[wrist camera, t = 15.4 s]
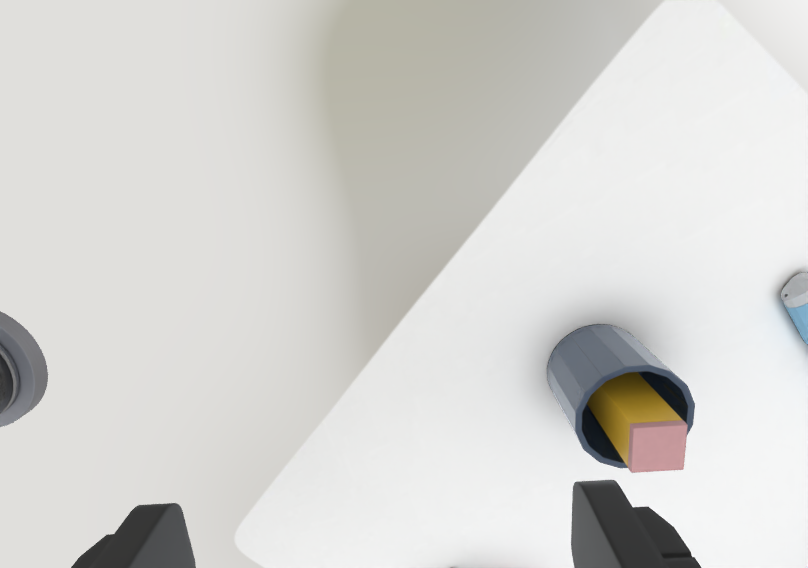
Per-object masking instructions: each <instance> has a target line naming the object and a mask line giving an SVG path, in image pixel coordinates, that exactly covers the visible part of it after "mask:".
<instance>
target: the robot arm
mask: <svg viewBox="0 0 808 568" xmlns="http://www.w3.org/2000/svg"><path fill="white" fill-rule="evenodd" d="M19 390H20V376H19V371H18V368H17V366H16V363H15V361H14V359H13V358H12V356H11V355H10V353H9V352H8V351H7V349H6V348H5V347H4V346H3V345H2V344H1V343H0V414H1V413H3V412H4V411H6V410H7V409H9V408H10V407H11V406H12V405H13V403H14V402H15V401H16V399H17V397H18V394H19ZM571 547H572V556H573V562H574V566H575V568H701V566H700V565H699V563H698V562H697V560H696V559H695V558H694V557H692V556H691V552H690V550H689V549H688V547H687V546H686V544H685V543H684V542H683V540H682V539H681V537H680V536H679V534H678V533H677V531H676V530H675V528H674V527H673V526H672V525H670V524H669V523H668V522H667V521H665V520H664V519H663V518H662V517H660V516H659V515H658V514H657V513H655V512H654V511H653V510H652V509H650V508H649V507H634V508H633V507H632V506H631V504H630V502H629V501H628V499H627V498H626V496H625V494H624V493H623V491H622V489H621V488H620V486H619V485H618V483H617V482H616V481H614V480H601V481H583V482H575V483H574V486H573V503H572V535H571ZM71 568H196V567H195V559H194V555H193V551H192V547H191V543H190V539H189V536H188V532H187V527H186V524H185V519H184V516H183V512H182V509H181V507H180V506H179V505H178V504H176V503H171V504H170V503H169V504H152V505H139V506H137V507H135V508H134V509H133V510H132V511H131V512H130V514H129V515H128V516H127V518H126V519H125V520H124V522H123V523H122V524H121V526H120V527H119V528H118V530H117V531H116V532H115V534H112V535H106V536H105V537H104V538H102V539H101V540H100V541H99V542H97V543H96V544H95V545H94V546H93V547H91V548H90V549H89V550H88V551H86V552H85V553H84V554H83V555H81V556H80V557H79V558H78V560H77V561H76V562H75V564H74V565H73V566H72V567H71Z"/></svg>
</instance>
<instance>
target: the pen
mask: <svg viewBox="0 0 808 568" xmlns="http://www.w3.org/2000/svg"><path fill="white" fill-rule="evenodd" d="M781 298H782V300H783V302H784V305H785V307H786V309H787V311H788V313H789V314H790V316H791V318H792V320H793V322H794V324H795V326H796V327H797V329H798V331H799V333H800V335H801V337H802V339H803V340H804V342H805V343H806V344H808V272H804V273H799V274H797V275H796V276H794V277H792V279H791V280H790V281H789V282H788V283H787V284H786V285H785V287H784V288H783V290H782V293H781Z"/></svg>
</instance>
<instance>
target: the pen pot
mask: <svg viewBox="0 0 808 568" xmlns="http://www.w3.org/2000/svg"><path fill="white" fill-rule="evenodd" d="M629 372H638V373H639V374H640V376H641V377H642V378H643V379H644V380H645V381H646V382H647V383H648V384H649V385H650V386H651V387H652V388H653V389H654V390H655V391H656V392H657V393H658V394H659V396H660V397H661V398H662V399H663V400H664V401H665V402H666V403H667V404H668V405H669V406H670V407H671V408H672V409H673V410H674V411H675V412H676V413H677V414H678V415H679V417H680V418H681V419H682V420H683V421H684V422H685V423H686V424H687V434H688V433H689V431H690V429H691V427H692V426H693V419H694V408H695V403H694V401H693V398H692V396H691V393H690V391H689V388H688V386H687V385H686V384H685V383H684V382H683V381H682V380H681V379H680V378H679V377H678V376H676V375H675V374H674V373H673V372H672V371H671V370H670V369H669V368H668V367H666V366H665V365H664V364H663V363H662V362H661V361H660V360H659V359H658V358H657V357H655V356H654V355H653V354H652V353H651V352H650V351H649V350H648V349H647V348H646V347H644V346H643V345H642V344H641V343H640V342H639V341H638V340H637V339H635V338H634V337H633V336H632V335H631V334H630V333H629V332H627V331H625V330H623V329H621V328H618V327H616V326H612V325H605V324H597V325H590V326H586V327H583V328H580V329H577V330H575V331H574V332H572V333H570V334H569V335H567V336H566V337H565V338H564V339H562V340H561V341H560V343H559V344H558V345H557V346H556V348H555V349H554V350H553V352H552V354H551V357H550V359H549V363H548V368H547V377H548V382H549V385H550V388H551V390H552V391H553V394H554V396H555V398H556V400H557V401H558V403H559V405H560V407H561V409H562V411H563V413H564V414H565V416H566V418H567V420H568V422H569V424H570V425H571V427H572V429H573V431H574V433H575V435H576V437H577V438H578V440H579V442H580V444H581V446H582V448H583V449H584V450H585V451H586V452H587V453H589V454H590V455H591V456H592V457H594V458H595V459H596V460H597V461H599V462H600V463H604V464H607V465H611V466H614V467H618V468H628V467H627V465H626V464H625V462H624V461H623V459H622V458H621V456H620V454H619V453H618V451H617V450H616V448H615V447H614V445H613V444H612V442H611V441H610V439H609V437H608V436H607V434H606V433H605V431H604V430H603V428H602V427H601V425H600V424H599V422H598V420H597V419H596V417H595V416H594V414H593V413H592V411H591V410H590V408H589V407H588V405H587V402H588V400H589V398H590V396H591V395H592V394H593V393H594V392H595V391H596V390H597V389H598V388H599V387H600V386H602V385H603V384H604V383H605V382H606V381H608V380H610V379H613V378H615V377H617V376H620V375H622V374H624V373H629Z"/></svg>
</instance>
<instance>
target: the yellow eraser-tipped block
mask: <svg viewBox="0 0 808 568" xmlns="http://www.w3.org/2000/svg"><path fill="white" fill-rule="evenodd" d="M587 405H588V407H589V408H590V410H591V411H592V413H593V414H594V416H595V417H596V419H597V420H598V422H599V424H600V425H601V427H602V428H603V430H604V431H605V433H606V434H607V436H608V437H609V439H610V441H611V442H612V444H613V445H614V447H615V448H616V450H617V451H618V453H619V454H620V456H621V458H622V459H623V461H624V462H625V464H626V465H627V467H628V468H629V470H630V471H631V472H632V473H633V472H650V471H667V470H683V469H684V458H685V447H686V437H687V424H686V423H685V422H684V421H683V420H682V419H681V418H680V417H679V415H678V414H677V413H676V412H675V411H674V410H673V409H672V408H671V407H670V406H669V405H668V404H667V403H666V402H665V401H664V400H663V399H662V398H661V397H660V396H659V394H658V393H657V392H656V391H655V390H654V389H653V388H652V387H651V386H650V385H649V384H648V383H647V382H646V381H645V380H644V379H643V378H642V377H641V376H640V374H639V373H638V372H629V373H624V374H622V375H620V376H617V377H615V378H613V379H610V380H608V381H606V382H605V383H604V384H603V385H602V386H600V387H599V388H598V389H597V390H596V391H595V392H594V393H593V394H592V395H591V396H590V398H589V400H588V402H587Z"/></svg>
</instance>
